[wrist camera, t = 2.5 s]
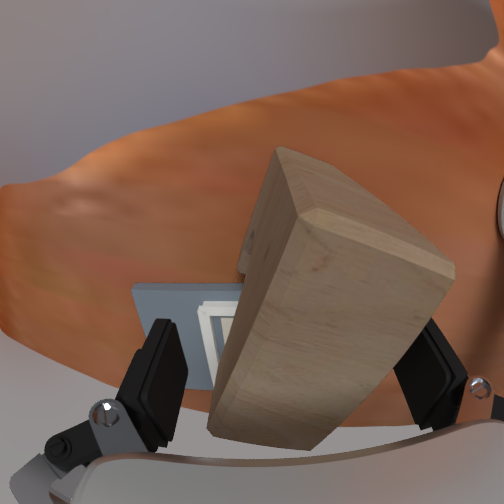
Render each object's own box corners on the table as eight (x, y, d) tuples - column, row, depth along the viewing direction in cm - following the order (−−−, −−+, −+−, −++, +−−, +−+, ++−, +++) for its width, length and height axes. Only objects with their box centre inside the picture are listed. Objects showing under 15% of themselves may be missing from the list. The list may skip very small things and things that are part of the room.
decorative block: (291, 267, 29) (312, 454, 11) (238, 249, 29) (199, 436, 11) (335, 166, 25) (470, 275, 7) (276, 143, 24) (307, 202, 6)
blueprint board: (349, 280, 30) (354, 292, 27) (331, 380, 37) (333, 394, 35) (135, 282, 31) (127, 294, 29) (167, 378, 39) (163, 391, 36)
